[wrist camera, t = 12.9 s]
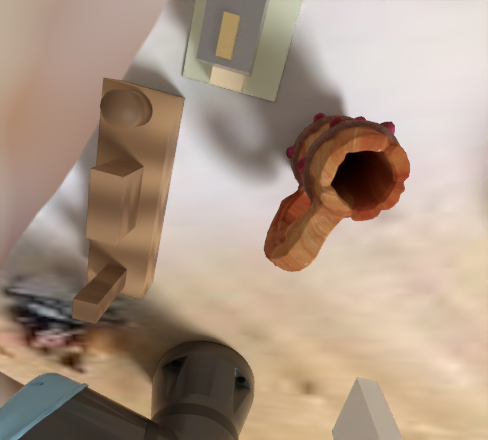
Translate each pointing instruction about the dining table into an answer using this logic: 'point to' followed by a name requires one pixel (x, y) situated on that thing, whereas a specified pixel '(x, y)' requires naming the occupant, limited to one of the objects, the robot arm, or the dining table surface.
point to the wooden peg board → (128, 193)
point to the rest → (267, 59)
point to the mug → (335, 184)
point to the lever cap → (232, 34)
